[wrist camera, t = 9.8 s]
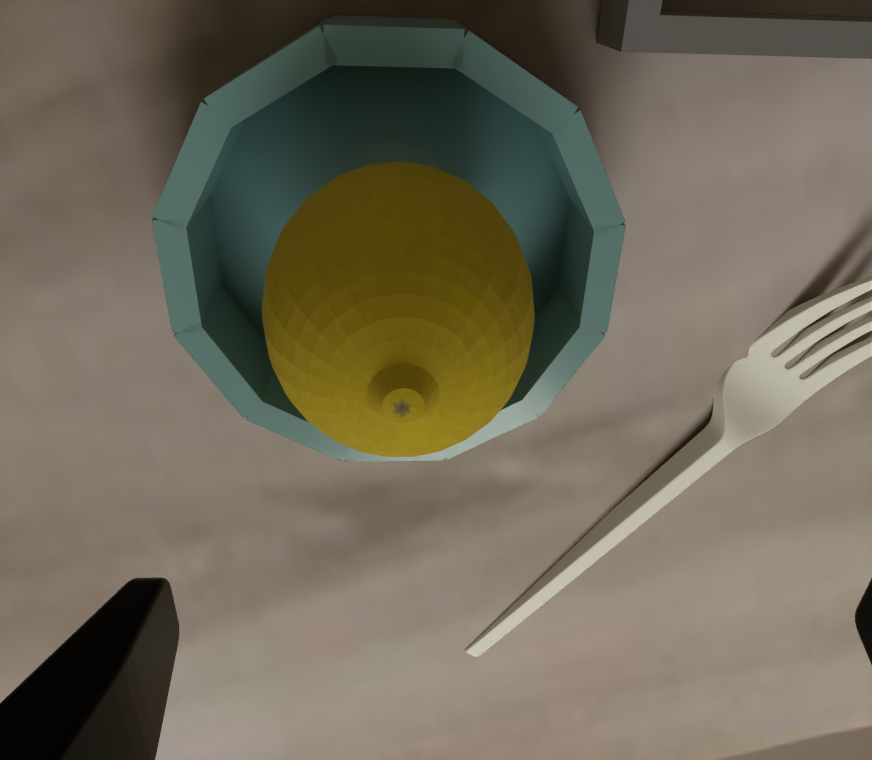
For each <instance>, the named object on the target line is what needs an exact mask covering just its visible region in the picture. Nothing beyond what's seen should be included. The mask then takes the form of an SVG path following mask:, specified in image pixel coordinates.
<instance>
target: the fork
mask: <svg viewBox="0 0 872 760" xmlns="http://www.w3.org/2000/svg"><path fill="white" fill-rule="evenodd" d="M870 290H872V277H869V278H866V279H863V280H860V281H857V282H854V283H851V284H848V285H845V286H842V287H840V288H837V289H834V290H832V291H829V292H827V293H825V294H822V295H820V296H818V297H815V298H813V299H811V300H809V301H806V302H804V303H802V304H800V305H798V306H796V307H794V308H792V309H790V310H789V311H787V312H786V313H785V314H783V315H782V316H781V317H780V318H779V319H778V320H777V321H776V322H775V323H774V324H773V325H772V326H771V327H770V328H768V329H767V330H766V331H765V332H764V333H763V334H762V335H761V336H760V337H759V338H758V339H757V340H756V341H755V342H754V343H753V344H752V345H751V347H750V349H749V354H748V357H747V358H744V359H740V360H737V361H736V362H734V363H733V364H732V365H731V366H730V367H729V368H728V369H727V371H726V372H725V373H724V375H723V376H722V378H721V379H720V381H719V383H718V385H717V387H716V389H715V392H714V396H713V413H712V417H711V420H710V422H709V423H708V425H707V426H706V427H705V428H704V429H703V430H702V431H701V432H700V433H698V434H697V435H696V436H695V437H694V438H693V439H692V440H691V441H690V442H688V443H687V444H686V445H685V446H684V447H683V448H682V449H680V450H679V451H678V452H677V453H676V454H675V455H674V456H673V457H671V458H670V459H669V460H668V461H667V462H666V463H665V464H664V465H662V466H661V467H660V468H659V469H658V470H657V471H656V472H654V473H653V474H652V475H651V476H650V477H649V478H648V479H647V480H645V481H644V482H643V483H642V484H641V485H640V486H639V487H638V488H636V489H635V490H634V491H633V492H632V493H631V494H630V495H628V496H627V497H626V498H625V499H624V500H623V501H622V502H621V503H619V504H618V505H617V506H616V507H615V508H614V509H613V510H612V511H610V512H609V513H608V514H607V515H606V516H605V517H604V518H603V519H602V520H601V521H600V522H599V523H598V524H597V525H596V526H595V527H594V528H593V529H592V530H591V531H590V532H589V533H588V534H586V535H585V536H584V537H583V538H582V539H581V540H580V541H579V542H578V543H577V544H576V545H575V546H574V547H573V548H572V549H571V550H570V551H569V552H568V553H567V554H566V555H565V556H564V557H562V558H561V559H560V560H559V561H558V562H557V563H556V564H555V565H554V566H553V567H552V568H551V569H550V570H549V571H548V572H547V573H546V574H545V575H544V576H543V577H542V578H541V579H539V580H538V581H537V582H536V583H535V584H534V585H533V586H532V587H531V588H530V589H529V590H528V591H527V592H526V593H525V594H524V595H523V596H522V597H521V598H519V599H518V600H517V601H516V602H515V603H514V604H513V605H512V606H511V607H510V608H509V609H508V610H507V611H506V612H505V613H504V614H503V615H501V616H500V617H499V618H498V619H497V620H496V621H495V622H494V623H493V624H492V625H491V626H490V627H489V628H488V629H487V630H486V631H484V632H483V633H482V634H481V635H480V636H479V637H478V638H477V639H476V640H475V641H474V642H473V643H472V644H471V645H470V646H468V647H467V648H466V649H465V650H464V651H465V652H466V653H468V654H470V655H473V656H475V657H478V656H480V655H481V654H482V653H483V652H485V651H486V650H487V649H488V648H490V647H491V646H492V645H493V644H495V643H496V642H497V641H498V640H500V639H501V638H502V637H503V636H504V635H506V634H507V633H508V632H509V631H511V630H512V629H513V628H514V627H516V626H517V625H518V624H519V623H521V622H522V621H523V620H524V619H525V618H527V617H528V616H529V615H530V614H532V613H533V612H534V611H535V610H537V609H538V608H539V607H540V606H542V605H543V604H544V603H545V602H546V601H548V600H549V599H550V598H551V597H553V596H554V595H555V594H556V593H558V592H559V591H560V590H561V589H562V588H564V587H565V586H566V585H567V584H569V583H570V582H571V581H572V580H574V579H575V578H576V577H577V576H579V575H580V574H581V573H582V572H583V571H585V570H586V569H587V568H588V567H590V566H591V565H592V564H593V563H595V562H596V561H597V560H598V559H600V558H601V557H602V556H603V555H604V554H606V553H607V552H608V551H609V550H611V549H612V548H613V547H614V546H616V545H617V544H618V543H619V542H620V541H622V540H623V539H624V538H625V537H627V536H628V535H629V534H630V533H632V532H633V531H634V530H635V529H637V528H638V527H639V526H640V525H641V524H643V523H644V522H645V521H646V520H648V519H649V518H650V517H651V516H653V515H654V514H655V513H656V512H657V511H659V510H660V509H661V508H662V507H664V506H665V505H666V504H667V503H669V502H670V501H671V500H672V499H674V498H675V497H676V496H677V495H678V494H680V493H681V492H682V491H683V490H685V489H686V488H687V487H688V486H690V485H691V484H692V483H693V482H694V481H696V480H697V479H698V478H699V477H701V476H702V475H703V474H704V473H706V472H707V471H708V470H709V469H711V468H712V467H713V466H714V465H715V464H717V463H718V462H719V461H720V460H722V459H723V458H724V457H725V456H727V455H728V454H729V453H730V452H731V451H733V450H734V449H735V448H737V447H738V446H740V445H741V444H743V443H745V442H747V441H748V440H750V439H752V438H754V437H756V436H758V435H760V434H762V433H765V432H767V431H768V430H770V429H772V428H773V427H775V426H776V425H777V424H779V423H780V422H781V421H782V420H783V419H785V418H786V417H787V416H788V415H789V414H790V413H791V412H792V411H794V410H795V409H796V408H797V407H798V406H799V405H801V404H802V403H803V402H804V401H805V400H807V399H808V398H809V397H810V396H812V395H813V394H814V393H816V392H817V391H818V390H820V389H821V388H822V387H824V386H825V385H827V384H828V383H829V382H831V381H832V380H834V379H835V378H837V377H838V376H840V375H841V374H843V373H844V372H846V371H847V370H849V369H851V368H852V367H854V366H855V365H857V364H859V363H860V362H862V361H864V360H865V359H867V358H869V357H870V356H872V337H870V338H867V339H865V340H863V341H861V342H858V343H856V344H854V345H852V346H850V347H848V348H846V349H844V350H841V351H839V352H837V353H835V354H834V355H833V356H831V357H830V358H829V359H828V360H827V361H825V362H824V363H823V364H822V365H821V366H819V367H818V368H817V369H816V370H815V371H814V372H812V373H811V374H810V375H809V376H807V377H806V378H803V379H802V378H800V375H801V374H802V373H803V372H804V371H806V370H807V369H809V368H810V367H812V366H813V365H815V364H816V363H818V362H819V361H821V360H822V359H824V358H825V357H827V356H829V355H830V354H832V353H833V352H835V351H837V350H838V349H840V348H842V347H843V346H845V345H846V344H848V343H850V342H851V341H853V340H855V339H856V338H858V337H860V336H862V335H864V334H865V333H867V332H869V331H871V330H872V316H870V317H868V318H865V319H863V320H861V321H859V322H857V323H855V324H853V325H850V326H848V327H846V328H844V329H842V330H840V331H838V332H836V333H835V334H833V335H831V336H829V337H827V338H825V339H824V340H822V341H820V342H819V343H818V344H817V345H816V346H815V347H814V348H812V349H811V350H810V351H809V352H808V353H807V354H806V355H805V356H804V357H803V358H802V359H800V360H799V361H798V362H797V363H796V364H795V365H793V366H792V367H790V368H786V367H785V364H786V363H787V362H788V361H790V360H791V359H792V358H794V357H795V356H796V355H798V354H799V353H801V352H802V351H804V350H805V349H806V348H808V347H809V346H811V345H812V344H814V343H816V342H817V341H819V340H820V339H822V338H823V337H825V336H826V335H828V334H830V333H831V332H833V331H834V330H836V329H838V328H839V327H841V326H843V325H844V324H846V323H848V322H850V321H851V320H853V319H855V318H857V317H859V316H861V315H863V314H865V313H867V312H869V311H871V310H872V297H870V298H867V299H865V300H862V301H860V302H857V303H855V304H853V305H851V306H849V307H847V308H845V309H842V310H840V311H838V312H836V313H834V314H832V315H830V316H828V317H826V318H825V319H823V320H821V321H819V322H817V323H815V324H814V325H812V326H810V327H809V328H807V329H806V330H805V331H803V332H802V333H801V334H800V335H799V336H798V337H797V338H796V339H795V340H794V341H793V342H792V343H791V344H790V345H789V346H787V347H786V348H785V349H784V350H783V351H782V352H781V353H780V354H779V355H777V356H772V355H771V353H772V351H773V350H774V349H775V348H777V347H778V346H779V345H781V344H782V343H783V342H785V341H786V340H787V339H789V338H790V337H792V336H793V335H794V334H796V333H797V332H799V331H800V330H802V329H803V328H805V327H806V326H808V325H809V324H811V323H813V322H814V321H816V320H817V319H819V318H820V317H822V316H823V315H825V314H826V313H828V312H830V311H831V310H833V309H835V308H837V307H839V306H840V305H842V304H844V303H846V302H848V301H850V300H852V299H854V298H856V297H858V296H860V295H862V294H864V293H866V292H868V291H870Z"/></svg>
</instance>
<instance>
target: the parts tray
mask: <svg viewBox="0 0 872 760" xmlns="http://www.w3.org/2000/svg"><path fill="white" fill-rule="evenodd" d="M661 6H662V0H602V6H601V13H600V20H599V28H598V35H597V43H600V44H602V45H605V46H608V47H610V48H613V49H616V50H619V51H624V52H659V53H694V54H729V55H764V56H799V57H834V58H869V59H872V18H865V17H834V16H804V15H774V14H743V13H713V12H682V11H661Z"/></svg>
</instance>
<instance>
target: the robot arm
mask: <svg viewBox="0 0 872 760" xmlns="http://www.w3.org/2000/svg"><path fill="white" fill-rule="evenodd" d="M855 623H856V627H857V631H858V633H859V636H860V638H861V640H862V643H863V645H864V648H865V650H866V652H867V655H868V657H869V659H870V662H871V664H872V579H871V581H870V583H869V585H868V587H867V589H866V591H865V593H864V595H863V597H862V599H861V601H860V603H859V605H858V607H857V609H856V613H855ZM178 640H179V622H178V617H177V613H176V608H175V604H174V599H173V595H172V590H171V586H170V584H169V582H168V580H166V579H165V578H135V579H132V580H130V581H129V582H127V583H126V584H125V585H124V586H123V587H122V588H121V589H120V590H119V591H118V592H117V593H116V594H115V595H114V596H112V597H111V598H110V599H109V600H108V601H107V602H106V603H105V604H104V605H103V606H102V607H101V608H100V609H99V610H98V611H97V612H96V613H95V614H94V615H93V616H91V617H90V618H89V619H88V620H87V621H86V622H85V623H84V624H83V625H82V626H81V627H80V628H79V629H78V630H77V631H76V632H75V633H74V634H73V635H71V636H70V637H69V638H68V639H67V640H66V641H65V642H64V643H63V644H62V645H61V646H60V647H59V648H58V649H57V650H56V651H55V652H54V653H53V654H52V655H50V656H49V657H48V658H47V659H46V660H45V661H44V662H43V663H42V664H41V665H40V666H39V667H38V668H37V669H36V670H35V671H34V672H33V673H32V674H31V675H29V676H28V677H27V678H26V679H25V680H24V681H23V682H22V683H21V684H20V685H19V686H18V687H17V688H16V689H15V690H14V691H13V692H12V693H11V694H10V695H8V696H7V697H6V698H5V699H4V700H3V701H2V702H1V703H0V760H155V757H156V752H157V748H158V743H159V738H160V733H161V728H162V722H163V717H164V712H165V707H166V702H167V697H168V692H169V687H170V682H171V677H172V672H173V666H174V661H175V656H176V651H177V646H178Z"/></svg>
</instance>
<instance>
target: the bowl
mask: <svg viewBox="0 0 872 760" xmlns="http://www.w3.org/2000/svg"><path fill="white" fill-rule="evenodd" d="M397 161H401V162H408V163H414V164H421V165H427V166H433V167H435V168H437V169H440V170H442V171H444V172H447V173H449V174H451V175H454V176H456V177H458V178H461V179H463V180H464V181H466V182H467V183H468V184H470V185H471V186H472V187H473V188H475V189H476V190H477V191H478V192H480V193H481V194H482V195H484V196H485V197H486V198H487V199H489V200H490V201H491V202H492V203H493V204H494V205H495V207H496V208H497V209H498V211H499V212H500V213H501V215H502V216H503V218H504V219H505V220H506V222H507V223H508V224H509V226H510V227H511V229H512V230H513V231H514V233H515V235H516V237H517V239H518V241H519V244H520V247H521V249H522V252H523V254H524V257H525V260H526V262H527V265H528V268H529V271H530V274H531V280H532V290H533V301H534V313H535V321H534V329H533V335H532V340H531V345H530V350H529V355H528V360H527V364H526V367H525V369H524V371H523V373H522V375H521V377H520V379H519V381H518V384H517V386H516V388H515V390H514V392H513V394H512V396H511V397H510V399H509V400H508V402H507V403H506V404H505V405H504V406H503V408H502V409H501V410H500V411H499V412H498V413H497V415H496V416H495V417H494V418H493V419H492V421H490V422H489V423H488V424H487V425H485V426H484V427H483V428H481V429H480V430H479V431H477V432H476V433H474V434H473V435H472V436H470V437H469V438H468V439H466V440H465V441H463V442H460V443H458V444H456V445H453V446H451V447H449V448H447V449H444V450H442V451H439V452H435V453H430V454H425V455H421V456H416V457H384V456H379V455H374V454H369V453H364V452H359V451H357V450H355V449H352V448H350V447H348V446H345V445H343V444H341V443H338V442H336V441H334V440H333V439H331V438H330V437H329V436H327V435H326V434H324V433H323V432H322V431H320V430H319V429H318V428H316V427H315V426H313V425H312V424H311V423H309V422H308V421H307V420H306V419H305V417H304V416H303V415H302V414H301V413H300V412H299V410H298V409H297V408H296V407H295V406H294V404H293V403H292V402H291V401H290V400H289V398H288V397H287V395H286V394H285V392H284V390H283V388H282V386H281V384H280V381H279V379H278V377H277V375H276V373H275V371H274V369H273V367H272V364H271V362H270V359H269V354H268V350H267V344H266V338H265V332H264V326H263V320H262V301H263V292H264V284H265V275H266V269H267V265H268V262H269V260H270V257H271V255H272V252H273V250H274V247H275V245H276V243H277V240H278V238H279V235H280V233H281V231H282V229H283V227H284V226H285V225H286V223H287V222H288V221H289V220H290V218H291V217H292V216H293V215H294V213H295V212H296V211H297V210H298V208H299V207H300V206H301V204H302V203H303V202H304V201H305V199H306V198H307V197H309V196H310V195H311V194H313V193H314V192H316V191H317V190H318V189H320V188H321V187H322V186H324V185H325V184H327V183H328V182H329V181H331V180H332V179H334V178H335V177H337V176H339V175H342V174H344V173H347V172H349V171H352V170H355V169H357V168H360V167H362V166H365V165H369V164H378V163H388V162H397ZM152 217H154V218H153V219H152V224H153V230H154V235H155V241H156V246H157V252H158V257H159V263H160V268H161V274H162V279H163V285H164V290H165V296H166V301H167V307H168V312H169V318H170V323H171V329H172V333H175V334H174V337H175V338H176V339H177V340H178V341H179V343H180V344H181V345H182V346H183V347H184V348H185V350H186V351H187V352H188V353H189V354H190V356H191V357H192V358H193V359H194V360H195V361H196V363H197V364H198V365H199V366H200V367H201V369H202V370H203V371H204V372H205V373H206V374H207V376H208V377H209V378H210V379H211V380H212V382H213V383H214V384H215V385H216V386H217V388H218V389H219V390H220V391H221V392H222V393H223V395H224V396H225V397H226V398H227V399H228V401H229V402H230V403H231V404H232V405H233V406H234V408H235V409H236V410H237V411H238V412H239V414H240V415H241V416H242V417H243V418H244V417H246V416H247V417H246V420H248V421H250V422H252V423H254V424H257V425H259V426H261V427H264V428H266V429H268V430H270V431H273V432H275V433H277V434H280V435H282V436H284V437H287V438H289V439H291V440H293V441H296V442H298V443H300V444H303V445H305V446H307V447H310V448H312V449H314V450H316V451H319V452H321V453H323V454H326V455H328V456H330V457H333V458H335V459H337V460H339V461H341V459H342V458H343V462H348V461H424V460H444V457H446V458H447V459H450V458H452V457H454V456H456V455H458V454H460V453H463V452H465V451H467V450H469V449H471V448H473V447H475V446H478V445H480V444H482V443H484V442H486V441H488V440H490V439H493V438H495V437H497V436H499V435H501V434H503V433H505V432H508V431H510V430H512V429H514V428H516V427H518V426H520V425H523V424H525V423H527V422H529V421H531V420H533V419H535V418H538V414H539V415H541V414H542V413H543V412H544V411H545V410H546V408H547V407H548V406H549V405H550V403H551V402H552V401H553V400H554V398H555V397H556V396H557V395H558V393H559V392H560V391H561V390H562V389H563V387H564V386H565V385H566V384H567V382H568V381H569V380H570V379H571V377H572V376H573V375H574V374H575V373H576V371H577V370H578V369H579V368H580V366H581V365H582V364H583V363H584V361H585V360H586V359H587V358H588V356H589V355H590V354H591V353H592V352H593V350H594V349H595V348H596V347H597V345H598V344H599V343H600V342H601V340H602V339H603V338H604V337H605V334H604V333H607V329H608V323H609V318H610V312H611V306H612V301H613V295H614V289H615V284H616V278H617V272H618V266H619V261H620V255H621V249H622V244H623V238H624V232H625V227H626V225H625V224H624V222H625V220H624V217H623V215H622V212H621V210H620V207H619V205H618V202H617V200H616V197H615V195H614V192H613V190H612V187H611V185H610V182H609V180H608V177H607V175H606V172H605V170H604V167H603V165H602V162H601V160H600V157H599V155H598V152H597V150H596V147H595V145H594V142H593V140H592V137H591V135H590V132H589V130H588V127H587V125H586V122H585V120H584V117H583V115H582V112H581V110H579V109H578V107H577V106H576V105H574V104H573V103H572V102H570V101H569V100H568V99H566V98H565V97H564V96H562V95H561V94H560V93H558V92H557V91H556V90H554V89H553V88H551V87H550V86H549V85H547V84H546V83H544V82H543V81H542V80H540V79H539V78H537V77H536V76H535V75H533V74H532V73H530V72H529V71H527V70H526V69H525V68H523V67H522V66H520V65H519V64H517V63H516V62H515V61H513V60H512V59H510V58H509V57H507V56H506V55H505V54H503V53H502V52H500V51H499V50H497V49H496V48H495V47H493V46H492V45H490V44H489V43H487V42H486V41H485V40H483V39H482V38H480V37H479V36H477V35H476V34H475V33H473V32H472V31H470V30H469V29H468V28H466V27H465V26H463V25H462V24H460V23H459V22H458V21H456V20H455V21H454V20H453V19H443V18H412V17H380V16H348V15H333V16H332V17H330V16H329V17H328V18H326V19H324V20H323V21H321V22H320V23H318V24H317V25H315V26H313V27H312V28H310V29H309V30H307V31H305V32H304V33H302V34H301V35H299V36H298V37H296V38H294V39H293V40H291V41H290V42H288V43H286V44H285V45H283V46H282V47H280V48H278V49H277V50H275V51H274V52H272V53H271V54H269V55H267V56H266V57H264V58H263V59H261V60H259V61H258V62H256V63H255V64H253V65H252V66H250V67H248V68H247V69H245V70H244V71H242V72H240V73H239V74H237V75H236V76H234V77H233V78H231V79H230V80H228V81H227V82H226V83H224V84H223V85H222V86H220V87H219V88H218V89H216V90H215V91H213V92H212V93H211V94H209V95H208V96H207V97H205V98H204V100H203V101H202V102H201V103H200V105H199V108H198V110H197V112H196V115H195V117H194V119H193V122H192V124H191V127H190V129H189V131H188V134H187V136H186V138H185V141H184V143H183V145H182V148H181V150H180V152H179V155H178V157H177V159H176V162H175V164H174V166H173V169H172V171H171V173H170V176H169V178H168V180H167V183H166V185H165V188H164V190H163V192H162V195H161V197H160V199H159V202H158V204H157V206H156V209H155V211H154V213H153V216H152Z"/></svg>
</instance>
